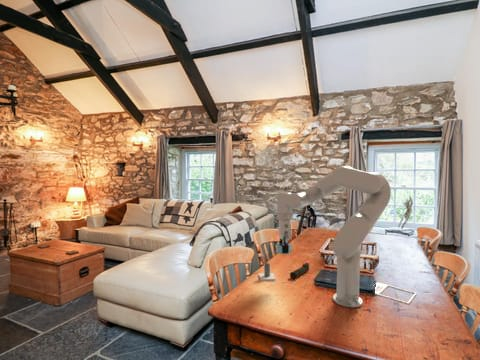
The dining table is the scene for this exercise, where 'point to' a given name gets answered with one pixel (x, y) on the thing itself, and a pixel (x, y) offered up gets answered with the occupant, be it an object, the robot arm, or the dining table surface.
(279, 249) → the collar
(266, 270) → the grey peg on base
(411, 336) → the dining table surface
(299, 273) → the dark brown bar
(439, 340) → the dining table surface
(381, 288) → the photo frame
